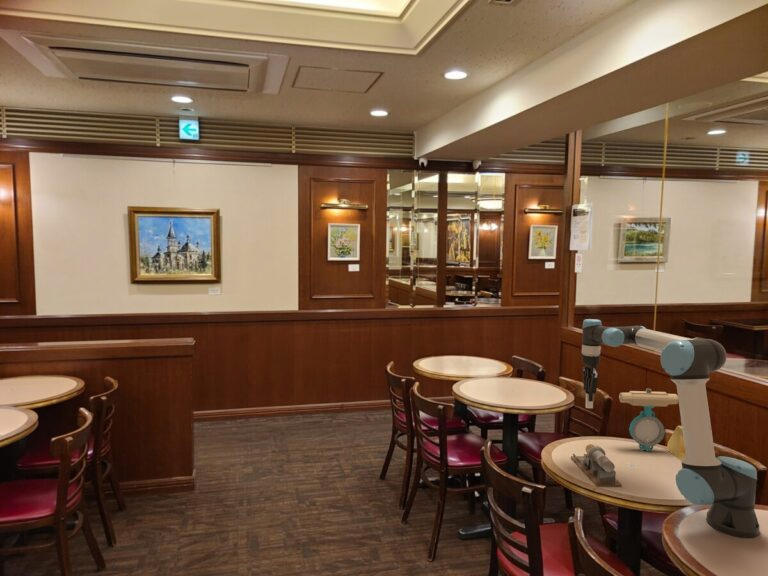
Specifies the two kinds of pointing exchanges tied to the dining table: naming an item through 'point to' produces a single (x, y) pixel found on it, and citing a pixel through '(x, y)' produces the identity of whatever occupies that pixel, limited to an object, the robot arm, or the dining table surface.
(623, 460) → the dining table surface
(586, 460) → the coupling
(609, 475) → the pipe jig
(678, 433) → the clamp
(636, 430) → the butterfly valve
